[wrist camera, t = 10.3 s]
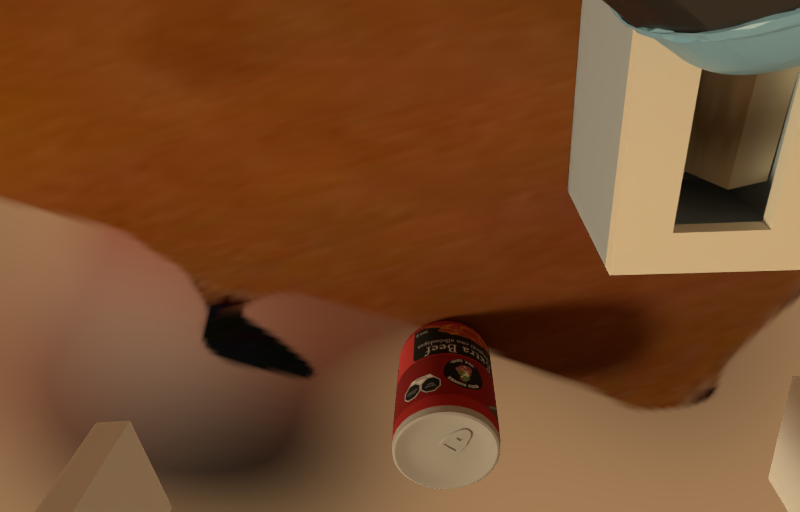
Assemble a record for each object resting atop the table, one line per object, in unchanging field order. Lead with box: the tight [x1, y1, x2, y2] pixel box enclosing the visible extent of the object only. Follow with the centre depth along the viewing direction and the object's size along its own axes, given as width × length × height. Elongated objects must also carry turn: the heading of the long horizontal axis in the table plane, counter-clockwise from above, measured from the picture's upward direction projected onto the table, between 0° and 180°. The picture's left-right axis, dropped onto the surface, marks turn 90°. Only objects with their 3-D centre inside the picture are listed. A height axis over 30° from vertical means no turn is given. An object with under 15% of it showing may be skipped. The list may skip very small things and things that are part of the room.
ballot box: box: [568, 0, 800, 275], centre depth 34 cm, size 14×11×12 cm
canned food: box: [392, 321, 500, 489], centre depth 46 cm, size 8×8×11 cm
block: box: [684, 66, 800, 190], centre depth 35 cm, size 7×3×7 cm
